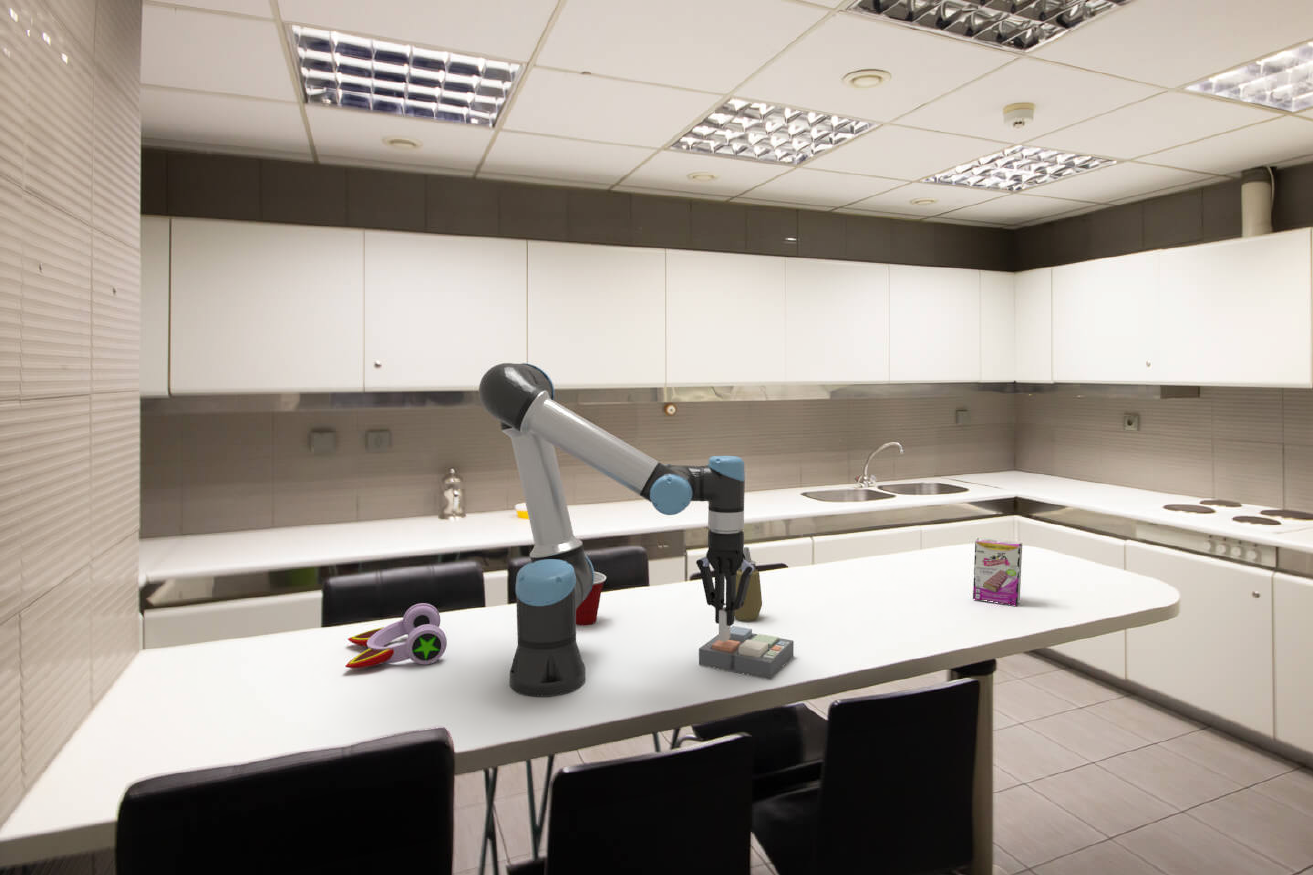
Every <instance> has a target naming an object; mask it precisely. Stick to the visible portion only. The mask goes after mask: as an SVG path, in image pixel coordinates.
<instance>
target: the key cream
mask: <svg viewBox="0 0 1313 875" xmlns="http://www.w3.org/2000/svg"><path fill="white" fill-rule="evenodd" d="M767 652H768V643H764V642H759V641H753V640H748V639H747V640H746V641H745V642H744V643H742V644H741V645H740V646H739V654H741V655H746V656H752V657H757V658H761V657H762V656H763V655H765V654H766V653H767Z"/></svg>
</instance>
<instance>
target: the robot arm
mask: <svg viewBox="0 0 1313 875" xmlns="http://www.w3.org/2000/svg"><path fill="white" fill-rule="evenodd" d="M478 396H479V401H480V403H481V405H482V407H483V409H484V410H485V411H486V413H488V414H489V415H490V416H491V417H493V418H494V419H496V420H498V421H499V424H500V429H501V431H502V433H503V434H505V435H507V436H509V438H510V439H511V444H512V445H511V446H512V448H513V453H514V457H515V461H516V462H515V463H516V467H517V470H518V474H519V479H520V484H521V488H522V493H523V497H524V498H523V499H524V502H525V506H526V511H527V516H528V520H529V525H530V529H531V533H532V539H533V543H534V547H533V549H532V550H531V551H530V553H529V557H530V563H529V562H528V563H527V564H525V565H523V566H522V567H521V568H520V569H519V570H518V572H517V574H516V581H515V589H514V590H515V591H514V592H515V596H516V598H515V599H516V601H515V602H516V628H517V629H516V630H517V632H516V633H517V647H516V650H515V653H514V656H513V660H512V663H511V667H510V670H509V675H508V676H509V686H510V688H511V689H512V690H513V691H515V692H516V693H518V694H521V695H525V696H532V697H550V696H551V697H552V696H558V695H563V694H568V693H570V692H573V691H575V690H577V689H578V688H580V687H581V686H582V685H584V683H585V682H586V677H587V676H586V665H585V664H584V662H583V660H582V659H583V658H582V655H581V652H580V650H579V646H578V643H577V625H576V609H577V608H578V607H579V605H580V604H581V603H582V602H583V601H584V600H585V599H586V597H587V596H588V594H589V593H590V591H591V589H592V586H593V582H594V572H595V570H594V566H593V564H592V562H591V560H590V558H589V557H588V556H587V555H586V552H585V550H584V549H585V548H584V544H583V541H582V540H581V539H579V538H577V537H576V536H574V531H573V526H572V522H571V519H570V518H571V517H570V513H569V509H568V504H567V499H566V496H565V490H564V487H563V482H562V476H561V472H560V469H559V468H560V467H559V464H558V457H557V454H556V449H555V447H556V448H558V449H559V450H561V451H563V452H564V453H566V454H568V455H570V456H571V457H573V458H575V459H576V460H579V461H580V462H582V463H583V464H585V465H587V466H588V467H591V468H593V469H594V470H596V471H597V472H599V473H600V474H602V475H604V476H606V477H607V478H610V479H611V480H613V481H615V482H616V483H618V484H619V485H622V486H623V487H625V488H627V489H628V490H630V491H632V492H634V493H635V494H637V495H639V496H641V498H643V499H645V500H646V501H648V502H650V503H651V504H652V506H653V507H654V509H655V510H656V511H658V513H660V514H662V515H666V516H674V515H678V514H679V513H682V512H683V511H684V510H686V508H687V507H689V505H690V504H691V502H707V503H708V506H707V507H708V511H707V512H708V516H707V517H708V519H707V527H708V529H709V530H708V531H707V548H708V549H707V552H706V554H705V556H704V557H700V558H699V559H697V560H696V562H695V564H696V566H697V568H698V569H699V571H700V576H701V580H702V585H703V586H702V587H703V590H704V596H705V599H706V603H707V605H708V606H712V607H714V611H715V614H714V615H715V616H714V617H715V618H714V621H715V624H716V625H717V624H718V634H719V641H724V642H725V641H727V640H728V639H729V638H730V627H732V626H734V624H735V616H734V614H735V610H738V609H739V608H741V607H742V606H743V604H744V600H745V597H746V593H747V589H748V585H749V581H750V577H751V574H752V573H753V571H754V570H755V569H756V567H755V565H753V564H752V565H750V564H749V563H748V562H747V561H746V560H745V555H744V553H743V550H744V547H745V546H744V545H745V532H744V531H743V529H745V488H746V487H745V486H746V480H745V479H746V478H745V477H746V474H745V471H746V470H745V462H744V460H743V458H741V457H739V456H734V455H715V456H710V457H709V459H708V463H707V464H706V465H683V464H682V465H681V464H679V465H678V464H677V465H676V464H671V463H669V464H668V463H667V464H662V463H661V462H660V461H658V460H656V459H655V458H653V457H651V456H650V455H647V454H646V453H644V452H643V451H641V450H640V449H637V448H636V447H634V446H632V445H631V444H629V443H627V442H625V440H622V439H620V438H619V437H616V435H613V434H611V433H609V432H608V431H606V430H605V429H603V428H602V427H600V426H598V425H596V424H594V423H593V422H591V421H590V420H588V419H586V418H584V417H582V416H580V415H579V414H577V413H575V412H573V411H572V410H570V409H569V408H567V407H565V406H563V405H561V404H560V403H558V402H556V401H555V400H554V399H555V387H554V383H553V381H552V379H551V377H550V376H549V374H548V373H547V372H545V371H544V370H543V369H541V367H538V366H536V365H534V364H530V363H525V362H522V363H513V362H511V363H510V362H504V363H499V364H495V365H494V366H492V367H490V368H489V369H488V370H486V372H485V373H484V375H483V376H482V378H481V380H480V383H479V387H478ZM741 566H742V572H743V574H742V576H741V579H740V583H739V587H738V591H737V595H736V576H737V571H738V569H739V568H740V567H741ZM711 567H712V569H713V575H712V570H711ZM713 578H714V580H713Z"/></svg>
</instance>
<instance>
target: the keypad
mask: <svg viewBox="0 0 1313 875" xmlns="http://www.w3.org/2000/svg"><path fill="white" fill-rule="evenodd" d="M758 634H759V633H753V632H752V637H751V638H750V639H749V640H752V639H753V638H754V637H755V636H757V635H758ZM718 640H719V633H718V634H717V635H716V636H714V637H713V638H711V639H710V640H708V641H707V642H705V643H704V644H703V645H702V646H700V647H699V648H698V665H699V666H705V667H708V666H710V667H709V668H713V667H715V668H714V669H717V668H719V669H718V670H722V669H724V670H723V671H727V670H728V671H727V672H732V671H733V672H732V673H737V674H741V673H744V674H743V675H746V674H749V675H748V676H751V675H752V677H756V676H757V678H761V679H765V678H766V680H772V679H773V678H774V676H775V675H777V674H778V672H780V671H781V669H783V667H784V666H785V665H786V664H787V663H788V662H790V661H791V659H793V657H794V649H795V648H794V646H795V644H794V643H795V642H794V640H791V639H787V638H781V637H778V643H777V644H776V645H775V646H773V647H772V648H769V647H768V652H767V653H766V654H765V655H763V656H762V657H761V658H757V657H752V656H746V655H741V654H739V648H738V649H737V650H735V651H734V652H733V653H731V652H726V651H721V650H715V649H712V644H714V643H715V642H716V641H718ZM741 644H742V642H740V645H741ZM786 662H787V663H786ZM785 663H786V664H785ZM784 664H785V665H784ZM783 665H784V666H783ZM782 666H783V667H782Z"/></svg>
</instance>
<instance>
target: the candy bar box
mask: <svg viewBox="0 0 1313 875" xmlns="http://www.w3.org/2000/svg"><path fill="white" fill-rule="evenodd" d="M974 542H975V543H974V563H973V564H974V567H973V585H972V586H973V587H972V588H973V590H972V600H973V599H975V600H974V601H977V600H987V601H993V602H998V603H1003V604H1002V605H1004V604H1010V605H1015V606H1014V607H1018V606H1019V604H1020V602H1021V583H1022V582H1021V581H1022V560H1023V558H1022V557H1023V543H1022V542H1019V541H1017V542H1016V541H1007V540H999V539H998V540H997V539H992V538H990V539H989V538H983V537H979V538H977V539H976V540H975V541H974ZM1018 603H1019V604H1018ZM1010 605H1009V606H1010ZM1017 605H1018V606H1017Z"/></svg>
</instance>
